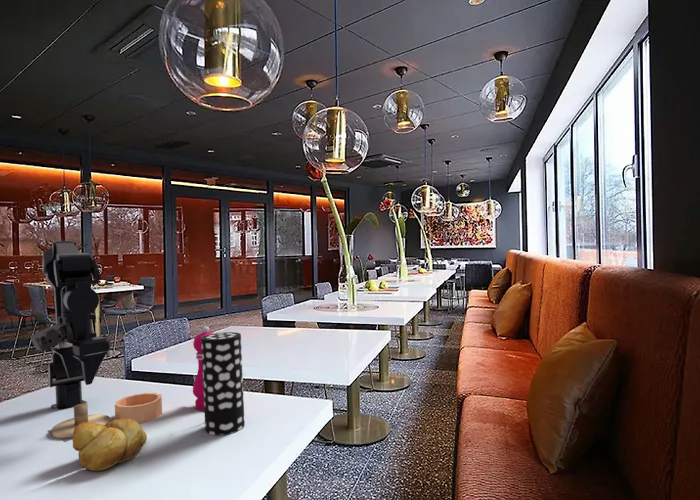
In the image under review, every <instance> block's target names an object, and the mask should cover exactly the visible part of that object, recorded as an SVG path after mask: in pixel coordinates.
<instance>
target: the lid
mask: <svg viewBox="0 0 700 500" xmlns="http://www.w3.org/2000/svg"><path fill="white" fill-rule="evenodd" d="M88 408H89V407H88V403H85V404H78V405H75V406H74V407H73V417H72V418H69V419H66V420H64V421H61V422H59V423H57V424H55V425H54V426H53V427H52V428H51V430H52V434H51V436H52V437H53V438H55V439H60V440H61V439H67V438H73V432H74V429H75V427H76V426H77V425H78V424H80V423H83V422H90V423H97V424H102V425H106V424H107V423H109V422H111V421H110V416H109V415H107V414H101V413H100V414H89V413H88Z"/></svg>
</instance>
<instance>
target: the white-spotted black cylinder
mask: <svg viewBox="0 0 700 500" xmlns="http://www.w3.org/2000/svg"><path fill="white" fill-rule="evenodd" d="M201 342H202V366H203V389H204V410H203V411H204V431H205V433H207V434H209V435H211V436H212V435H213V436H224V435H228V434H229V435H230V434H233V433H236V432H238V431H241V430H242V429H243V428H245V426H246V424H245V403H244V402H245V401H244V379H243V377H244V375H243V355H242V350H243V349H242V334H241V333H239V332H232V331H231V332H230V331H229V332H227V331H226V332H216V333H214V334H209V335H205V336H203V337H202V338H201Z"/></svg>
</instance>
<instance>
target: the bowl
mask: <svg viewBox="0 0 700 500" xmlns="http://www.w3.org/2000/svg"><path fill="white" fill-rule="evenodd" d="M162 415H163V395H162V394H160V393H157V392H142V393H136V394H131V395H128V396H125V397H122V398H120V399H118V400H115V404H114V418H115V419H114V420H117V419H132V420H134V421H136V422H137V423H139V424H143V423H146V422H150V421H153V420H156V419H158V418H159V417H160V416H162Z"/></svg>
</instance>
